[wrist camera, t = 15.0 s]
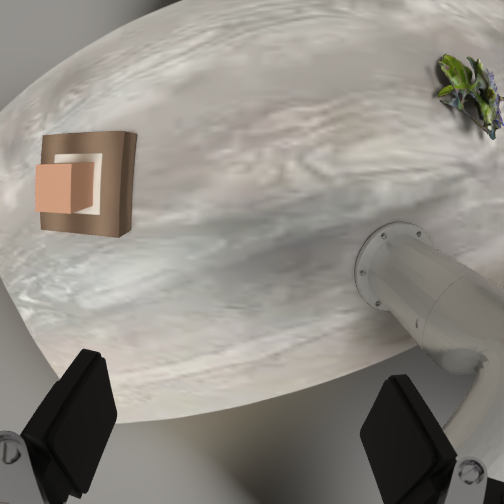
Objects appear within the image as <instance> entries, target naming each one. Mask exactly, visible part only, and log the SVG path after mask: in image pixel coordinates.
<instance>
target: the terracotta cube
mask: <svg viewBox="0 0 504 504" xmlns="http://www.w3.org/2000/svg"><path fill="white" fill-rule="evenodd" d="M93 179H94V162H73V163H52V164H40V165H36V188H35V196H36V212H51V213H67V214H71V213H74V212H77V211H80V210H82V209H85V208H88V207H91V206H93Z"/></svg>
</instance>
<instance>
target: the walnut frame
mask: <svg viewBox="0 0 504 504" xmlns="http://www.w3.org/2000/svg"><path fill="white" fill-rule="evenodd" d="M136 140H137V134H135V133H130V132H126V131H110V132H84V133H67V134H55V135H44V136H43V140H42V153H41V164H52V163H73V162H94V179H93V206H91V207H88V208H85V209H82V210H80V211H77V212H74V213H71V214H67V213H51V212H40V219H41V230H50V231H59V232H69V233H79V234H88V235H98V236H107V237H117V238H119V237H121V236H122V235H124V234H126V233H127V232H129V231H130V230H131V214H132V190H133V174H134V161H135V150H136Z"/></svg>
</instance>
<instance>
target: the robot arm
mask: <svg viewBox="0 0 504 504" xmlns="http://www.w3.org/2000/svg"><path fill="white" fill-rule="evenodd" d="M382 233H383V235H382V236H381V234H382ZM361 270H362V271H361ZM360 271H361V272H360ZM355 281H356V286H357V288H358V291H359V293H360V294H361V296H362V297H363V299H364V300H365V301H366V302H367V303H368V304H369V305H371V306H372V307H373V308H376V309H378V310H383V311H390V312H391V313H392V314H393V316H394V317H395V318H396V319H397V320H398V321H399V323H400V324H401V325H402V326H403V327H404V328H405V329H406V331H407V332H408V333H409V334H410V335H411V337H412V338H413V339H414V340H415V341H416V343H417V344H418V345H419V346H420V347H421V348H422V350H423V351H424V352H425V353H426V355H428V357H429V358H430V359H431V360H432V362H433V363H434V364H435V365H436V366H438V367H439V368H440V369H442V370H444V371H446V372H449V373H453V374H469V373H476V372H477V375H476V379H475V381H474V383H473V385H472V386H471V388H470V390H469V391H468V393H467V394H466V396H465V398H464V399H463V401H462V402H461V404H460V405H459V406H458V408H457V409H456V410H455V411H454V413H453V414H452V415H451V417H450V418H449V420H447V422H446V423H445V424H444V425H443V427H442V428H441V427H440V425H439V423H438V422H437V420H436V418H435V417H434V415H433V414H432V412H431V411H430V409H429V407H428V406H427V404H426V403H425V401H424V400H423V399H422V397H421V395H420V394H419V392H418V390H417V389H416V387H415V386H414V384H413V383H412V381H411V380H410V378H409V377H408V376H407V375H405V374H403V375H392V376H390V377H389V378H388V380H386V381H385V382H384V383H383V386H382V388H381V390H380V392H379V394H378V396H377V398H376V400H375V402H374V405H373V407H372V408H371V410H370V412H369V414H368V416H367V418H366V420H365V422H364V424H363V426H362V428H361V430H360V438H361V440H362V443H363V446H364V449H365V451H366V454H367V457H368V460H369V463H370V465H371V468H372V471H373V474H374V476H375V479H376V482H377V485H378V488H379V491H380V494H381V497H382V500H383V503H384V504H504V288H502V287H500V286H499V285H497V284H495V283H494V282H492V281H490V280H489V279H487V278H485V277H484V276H482V275H480V274H479V273H477V272H475V271H474V270H472V269H470V268H468V267H467V266H465V265H463V264H462V263H460V262H458V261H456V260H455V259H453V258H451V257H449V256H447V255H446V254H444V253H442V252H440V251H438V250H436V249H435V248H434V247H433V244H432V242H431V240H430V238H429V236H428V235H427V234H426V233H425V232H424V231H423V230H422V229H421V228H419V227H417V226H415V225H413V224H410V223H407V222H396V223H391V224H388V225H385V226H383V227H382V228H380V229H378V230H377V231H376V232H375V233H373V234H372V235H371V236H370V237H369V239H368V240H367V241H366V242H365V243H364V245H363V247H362V249H361V251H360V253H359V255H358V258H357V261H356V267H355ZM116 419H117V410H116V406H115V402H114V398H113V393H112V389H111V385H110V380H109V375H108V370H107V365H106V360H105V358H103V357H101V354H100V353H99V352H96V351H92V350H88V349H82V350H81V351H80V353H79V354H78V355H77V357H76V358H75V359H74V361H73V362H72V364H71V365H70V366H69V368H68V369H67V370H66V372H65V373H64V375H63V376H62V377H61V379H60V380H59V381H57V382H56V383H55V384H54V385H53V387H52V388H51V390H50V391H49V393H48V394H47V395H46V397H45V398H44V400H43V401H42V403H41V404H40V406H39V407H38V409H37V410H36V411H35V413H34V414H33V416H32V418H31V419H30V421H29V422H28V424H27V425H26V427H25V428H24V430H23V431H22V433H21V435H18V434H16V433H15V432H12V431H0V504H66V501H67V499H68V496H69V495H71V496H74V497H76V498H79V499H80V498H81V496H82V493H84V494H86V493H87V492H88V490H89V488H90V485H91V482H92V480H93V477H94V474H95V472H96V469H97V466H98V464H99V461H100V459H101V456H102V454H103V451H104V449H105V446H106V444H107V441H108V438H109V436H110V434H111V432H112V429H113V427H114V424H115V422H116Z"/></svg>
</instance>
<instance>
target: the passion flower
mask: <svg viewBox="0 0 504 504" xmlns="http://www.w3.org/2000/svg"><path fill="white" fill-rule="evenodd" d="M467 59H468V60H469V61H470V64H471V65H472V68H473V69H474V72H475V83H474V84H473V85H471V82H470V81H471V79H472V71H471V70H470V69H469V68H468V67H466V66H464V64H462V62H461V61H459V60H457V59H456V58H454V57H452V56H450V55H447V54H444V55H443V57H442V61H438V62H437V64H438V65H440V67H441V69H442V71H443V72H444V74H445V75H446V76H447V78H448V79H449V81H450V83H451V85H449V86H447V87H444V88H443V89H442V90H441V91H440V92H439V94H438V97H441V96H443V95H447V94H454V95H455V96H456V98H452V99H451V100H450V101H443V100H440V102H443V103H445V104H449V105H451V106H453V107H456V108H457V109H458V110H459V111H461V112H464V113H465V114H467V115H468V116H469V117H470V118H471V119H472V120H474V121H475V122H476V123H477V124H478V125H479V126H480V128H482V129H483V130H484V131H485V132H487V134H489V136H490V138H491V139H492V140H494V139H495V138H496V137H495V131H496V130H497V129H499V128H501V125H500V124H502V126H504V124H503V122H502V118H501V112H500V110H499V102H500V101H504V97H500V96H499V94H497V87H496V86H495V85H496V84H495V83H494V77H493V76H494V75H492V74H493V73H491V72H490V71H488V69H487V68H486V70H484V71H483V68H482V66H483V64H482V63H480V59H477V61H476V62H475V61H474V60H473V59H472V58H471V57H467ZM477 89H479V91H480V95H478V94H477V93H476V90H477ZM459 92H460V93H462V99H461V102H460V100H459V97H458V93H459ZM467 94H470V95H472V96H473V97H474V98H471V99H468V100H465V96H466V95H467ZM472 99H475V106H476V107H477V109H478V114H479V119H480V120H484V126H481V125H480V124H479V123H478V121H476V119H474V118H473V117H472V116H471V115H470V114H469V113H467V112H466V110H465V109H464V105H463V104H464V103H465V102H466V101H469V100H472Z"/></svg>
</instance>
